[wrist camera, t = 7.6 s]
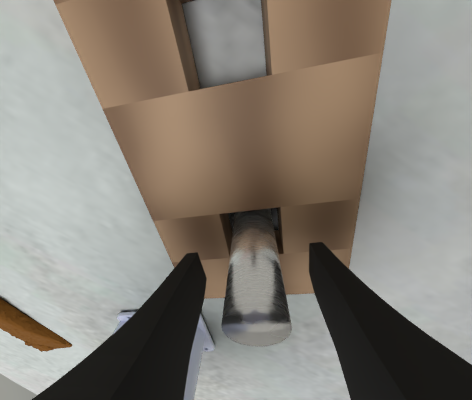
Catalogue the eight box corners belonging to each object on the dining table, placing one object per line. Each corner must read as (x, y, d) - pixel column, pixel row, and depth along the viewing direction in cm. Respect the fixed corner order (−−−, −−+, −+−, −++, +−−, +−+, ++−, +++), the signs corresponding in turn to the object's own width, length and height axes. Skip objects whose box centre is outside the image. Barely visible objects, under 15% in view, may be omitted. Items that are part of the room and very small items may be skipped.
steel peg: (238, 228, 15) (228, 347, 8) (232, 199, 14) (214, 309, 7) (272, 225, 15) (292, 345, 8) (269, 194, 13) (290, 306, 6)
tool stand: (196, 274, 18) (188, 299, 16) (46, -116, 7) (-39, -203, 5) (332, 264, 16) (345, 291, 14) (383, -249, 6) (463, -453, 4)
